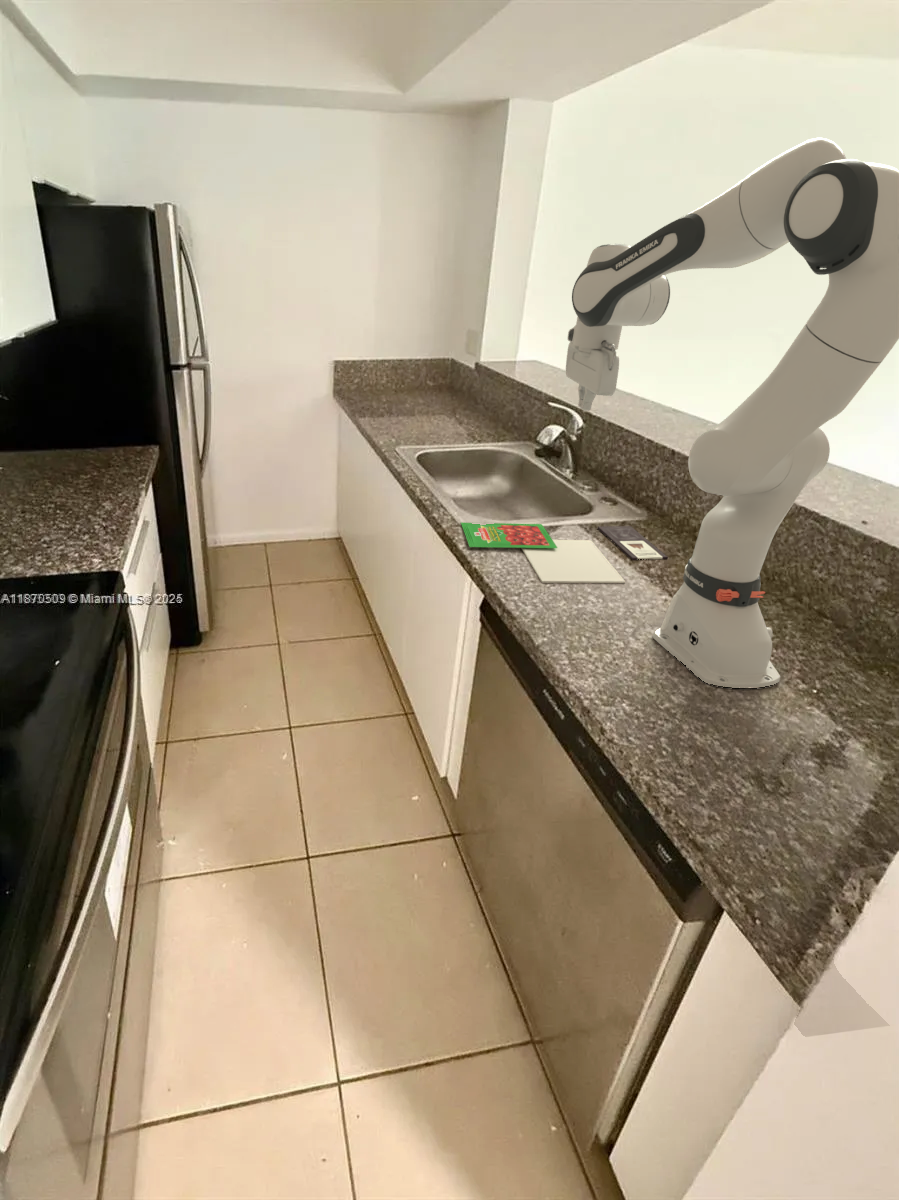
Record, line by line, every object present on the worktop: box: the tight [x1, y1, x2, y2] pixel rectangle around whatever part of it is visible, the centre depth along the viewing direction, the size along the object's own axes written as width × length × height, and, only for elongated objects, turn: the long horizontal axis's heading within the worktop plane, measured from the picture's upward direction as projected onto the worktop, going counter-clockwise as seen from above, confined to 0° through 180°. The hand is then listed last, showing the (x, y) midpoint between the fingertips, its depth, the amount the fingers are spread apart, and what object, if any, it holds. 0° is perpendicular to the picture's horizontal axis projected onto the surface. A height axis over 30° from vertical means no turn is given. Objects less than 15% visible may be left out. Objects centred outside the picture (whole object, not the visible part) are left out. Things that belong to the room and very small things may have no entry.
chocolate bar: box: [597, 525, 669, 561], centre depth 155 cm, size 9×1×18 cm
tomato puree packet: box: [460, 522, 557, 549], centre depth 151 cm, size 15×1×20 cm
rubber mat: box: [521, 539, 626, 584], centre depth 142 cm, size 21×18×1 cm
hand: (584, 409), depth 134 cm, fingers closed
